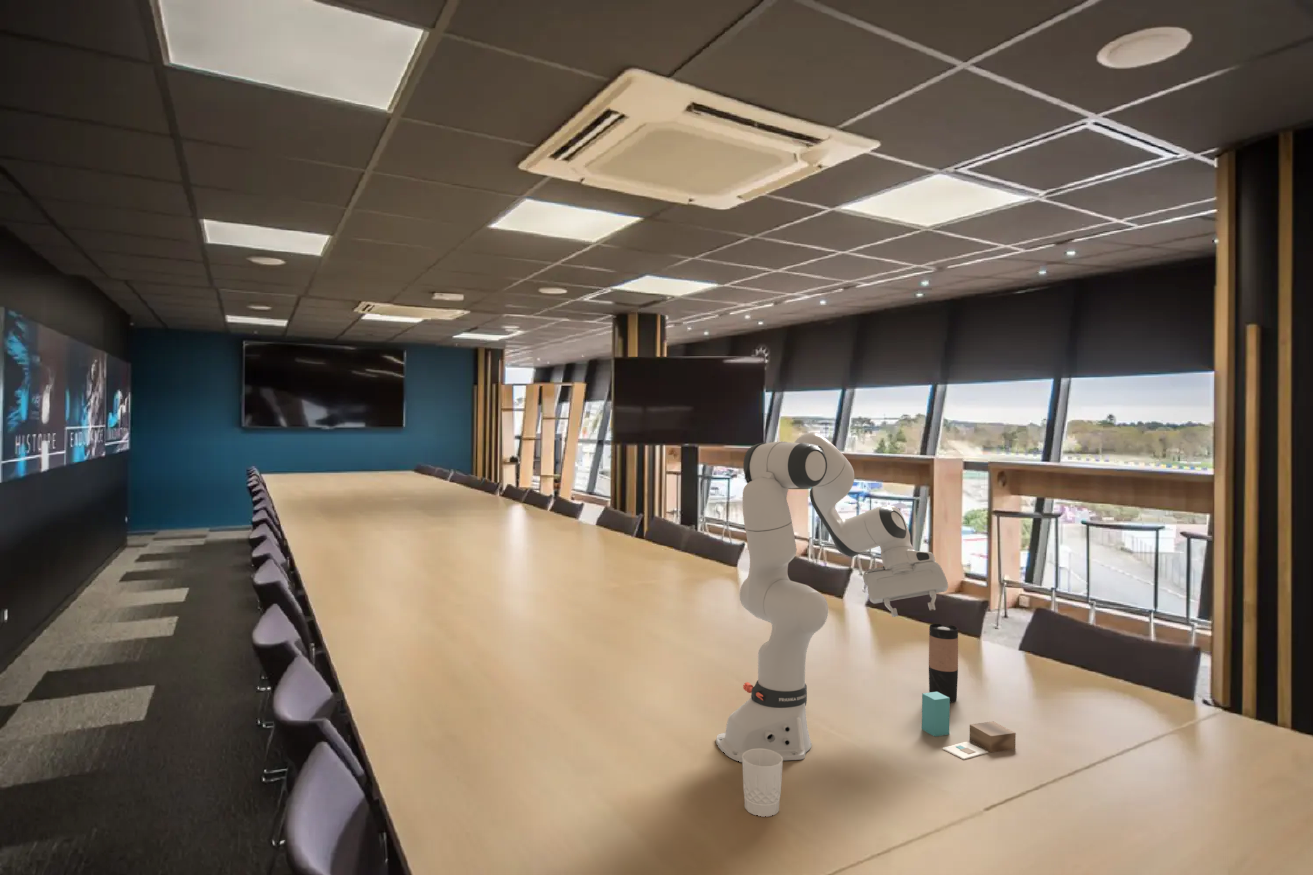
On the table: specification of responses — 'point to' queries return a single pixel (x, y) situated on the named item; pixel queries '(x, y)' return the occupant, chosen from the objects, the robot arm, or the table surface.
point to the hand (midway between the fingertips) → (913, 612)
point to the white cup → (762, 781)
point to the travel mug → (943, 660)
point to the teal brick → (935, 713)
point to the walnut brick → (992, 736)
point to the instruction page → (965, 750)
